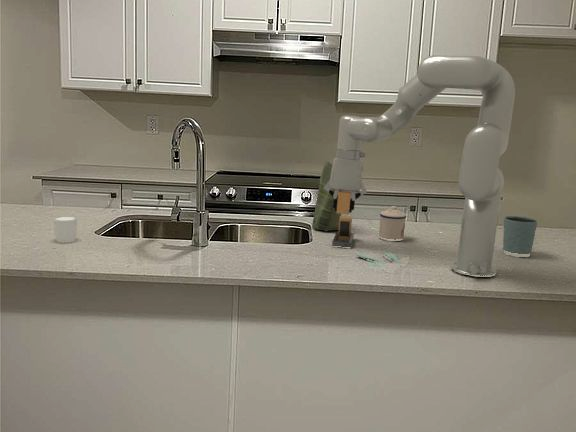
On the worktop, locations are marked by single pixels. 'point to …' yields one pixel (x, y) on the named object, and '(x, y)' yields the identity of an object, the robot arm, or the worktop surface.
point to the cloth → (391, 256)
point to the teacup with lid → (392, 224)
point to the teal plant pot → (519, 234)
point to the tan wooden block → (343, 202)
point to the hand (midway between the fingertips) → (343, 210)
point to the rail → (344, 232)
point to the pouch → (325, 204)
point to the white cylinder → (65, 229)
